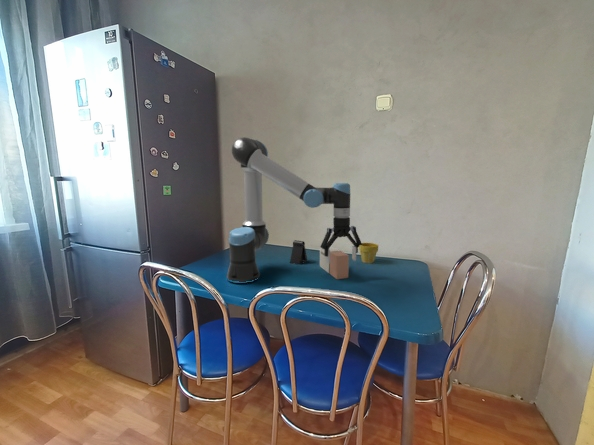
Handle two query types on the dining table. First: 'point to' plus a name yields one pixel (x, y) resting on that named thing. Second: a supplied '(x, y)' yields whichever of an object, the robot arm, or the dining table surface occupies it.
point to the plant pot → (368, 252)
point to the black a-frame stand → (298, 252)
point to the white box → (323, 258)
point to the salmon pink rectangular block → (339, 264)
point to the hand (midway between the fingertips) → (341, 261)
